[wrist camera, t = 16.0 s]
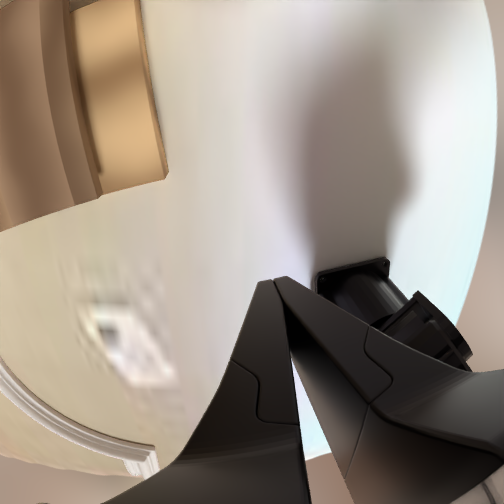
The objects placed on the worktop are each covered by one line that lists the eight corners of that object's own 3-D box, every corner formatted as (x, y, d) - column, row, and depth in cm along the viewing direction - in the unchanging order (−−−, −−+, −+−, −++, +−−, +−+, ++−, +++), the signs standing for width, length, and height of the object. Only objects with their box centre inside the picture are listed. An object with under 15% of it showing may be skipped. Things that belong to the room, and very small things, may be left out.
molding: (-70, 321, 20) (-80, 334, 18) (-59, 274, 18) (-73, 289, 16) (146, 474, 39) (146, 488, 37) (196, 461, 37) (197, 477, 35)
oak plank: (169, 170, 19) (164, 179, 16) (100, 188, 18) (87, 199, 16) (140, 1, 13) (132, -11, 11) (70, 26, 13) (55, 19, 11)
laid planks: (84, -9, 11) (61, -27, 8) (116, 181, 18) (97, 198, 14) (-36, 63, 11) (-66, 64, 7) (-3, 222, 17) (-29, 243, 14)
